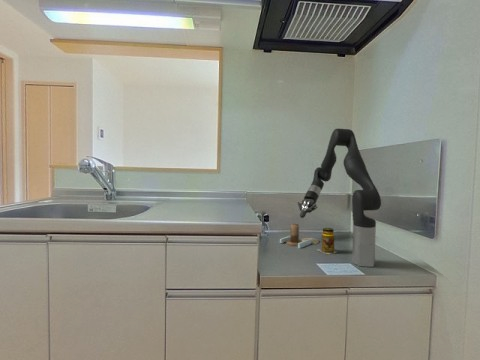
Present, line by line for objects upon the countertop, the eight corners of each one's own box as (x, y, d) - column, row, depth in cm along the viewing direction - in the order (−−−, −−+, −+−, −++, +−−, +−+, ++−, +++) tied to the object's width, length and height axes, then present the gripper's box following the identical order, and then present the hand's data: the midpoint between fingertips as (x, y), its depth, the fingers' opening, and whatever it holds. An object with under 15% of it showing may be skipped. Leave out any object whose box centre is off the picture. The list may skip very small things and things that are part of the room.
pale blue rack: (293, 238, 165) (293, 234, 164) (313, 242, 155) (313, 238, 155) (279, 243, 155) (279, 239, 155) (299, 248, 145) (299, 243, 145)
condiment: (328, 254, 135) (328, 230, 134) (315, 250, 142) (315, 227, 142) (338, 252, 139) (338, 229, 138) (325, 248, 146) (325, 225, 145)
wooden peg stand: (303, 246, 148) (303, 226, 148) (286, 245, 150) (286, 226, 149) (302, 242, 157) (302, 223, 157) (286, 241, 159) (286, 222, 158)
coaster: (320, 244, 153) (320, 243, 153) (301, 243, 154) (301, 242, 154) (318, 239, 163) (318, 238, 162) (301, 238, 164) (301, 237, 164)
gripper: (301, 189, 168) (289, 211, 160) (320, 190, 159) (309, 214, 151) (305, 197, 172) (294, 219, 164) (324, 199, 163) (314, 222, 155)
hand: (301, 217), depth 158 cm, fingers closed
